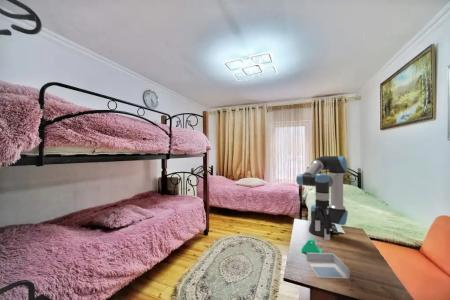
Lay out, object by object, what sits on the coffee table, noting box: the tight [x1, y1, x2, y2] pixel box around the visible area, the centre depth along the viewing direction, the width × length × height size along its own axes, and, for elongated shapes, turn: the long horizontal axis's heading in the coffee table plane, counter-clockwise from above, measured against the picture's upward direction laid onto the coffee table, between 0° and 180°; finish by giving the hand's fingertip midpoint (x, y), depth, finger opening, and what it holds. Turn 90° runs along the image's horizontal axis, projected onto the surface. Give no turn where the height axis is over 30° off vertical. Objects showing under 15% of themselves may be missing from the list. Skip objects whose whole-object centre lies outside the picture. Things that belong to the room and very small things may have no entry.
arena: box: [306, 252, 351, 280], centre depth 115 cm, size 17×17×5 cm
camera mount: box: [301, 238, 323, 254], centre depth 133 cm, size 12×8×10 cm, turn 56°
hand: (322, 234), depth 117 cm, fingers open, 12 cm apart
